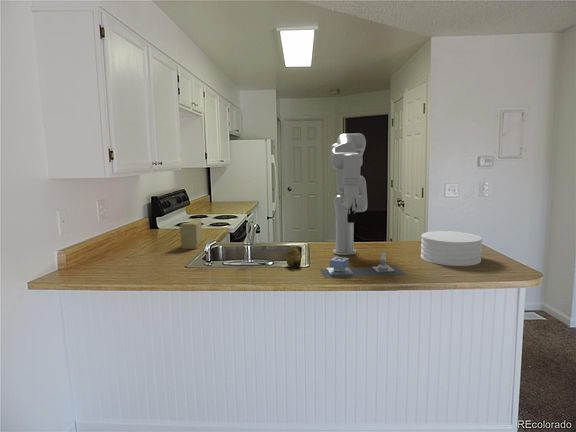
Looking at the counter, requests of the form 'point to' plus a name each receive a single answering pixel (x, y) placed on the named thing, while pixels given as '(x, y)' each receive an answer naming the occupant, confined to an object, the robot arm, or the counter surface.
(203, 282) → the counter surface
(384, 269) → the stand
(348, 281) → the counter surface
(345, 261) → the square hole block
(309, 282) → the counter surface
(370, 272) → the bench mat
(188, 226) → the cheese
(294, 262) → the potato
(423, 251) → the plate stack
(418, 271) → the counter surface
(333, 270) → the hub
